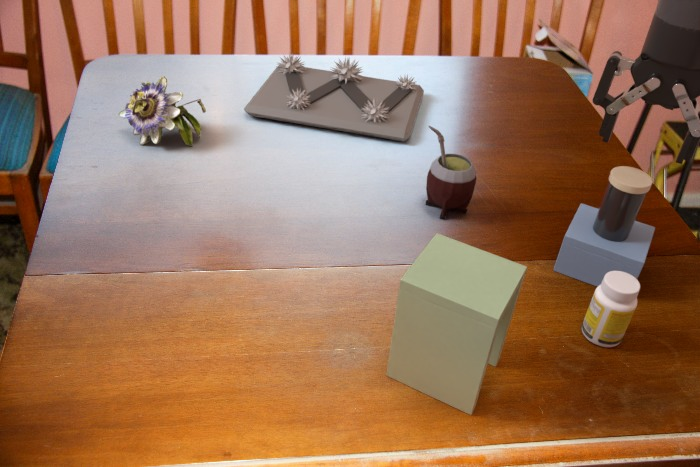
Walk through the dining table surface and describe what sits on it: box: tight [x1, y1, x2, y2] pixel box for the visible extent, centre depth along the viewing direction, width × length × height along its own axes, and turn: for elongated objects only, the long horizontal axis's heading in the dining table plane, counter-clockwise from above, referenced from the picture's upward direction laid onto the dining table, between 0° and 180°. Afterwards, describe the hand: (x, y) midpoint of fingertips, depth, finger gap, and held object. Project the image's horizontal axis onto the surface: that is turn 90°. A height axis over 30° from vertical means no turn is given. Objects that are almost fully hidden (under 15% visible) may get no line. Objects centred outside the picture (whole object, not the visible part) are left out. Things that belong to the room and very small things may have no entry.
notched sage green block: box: [385, 233, 528, 416], centre depth 69 cm, size 10×9×14 cm
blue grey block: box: [553, 203, 656, 288], centre depth 88 cm, size 10×9×6 cm
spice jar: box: [593, 165, 653, 242], centre depth 83 cm, size 5×5×8 cm
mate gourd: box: [425, 125, 477, 221], centre depth 93 cm, size 8×8×15 cm
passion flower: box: [118, 75, 207, 147], centre depth 108 cm, size 11×11×12 cm
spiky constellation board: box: [243, 53, 425, 142], centre depth 121 cm, size 30×22×7 cm
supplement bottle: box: [581, 271, 641, 348], centre depth 76 cm, size 5×5×8 cm
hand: (642, 150), depth 78 cm, fingers open, 8 cm apart
